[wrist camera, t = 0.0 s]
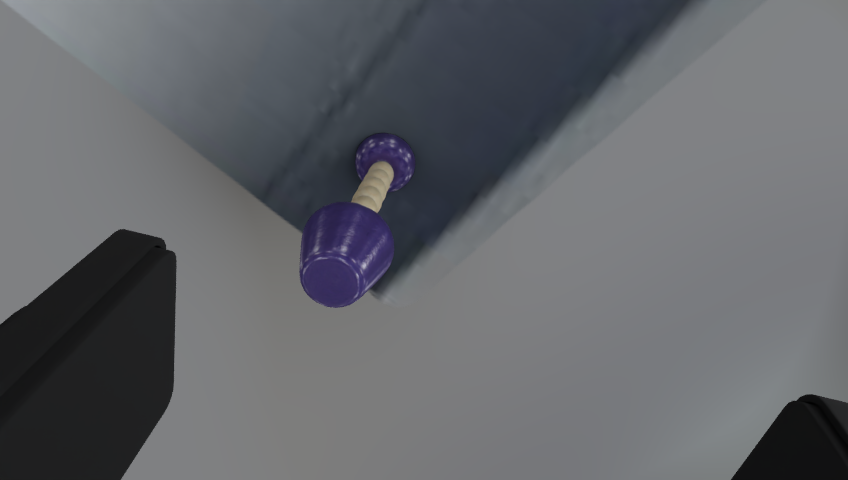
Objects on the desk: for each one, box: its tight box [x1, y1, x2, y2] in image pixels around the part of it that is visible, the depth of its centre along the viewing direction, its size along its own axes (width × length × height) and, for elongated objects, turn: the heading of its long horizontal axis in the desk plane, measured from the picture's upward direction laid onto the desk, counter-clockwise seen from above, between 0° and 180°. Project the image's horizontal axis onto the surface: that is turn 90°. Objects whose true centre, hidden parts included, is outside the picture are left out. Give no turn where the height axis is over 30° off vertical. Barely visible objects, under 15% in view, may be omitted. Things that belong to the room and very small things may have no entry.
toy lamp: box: [300, 133, 415, 308], centre depth 33 cm, size 5×5×17 cm
